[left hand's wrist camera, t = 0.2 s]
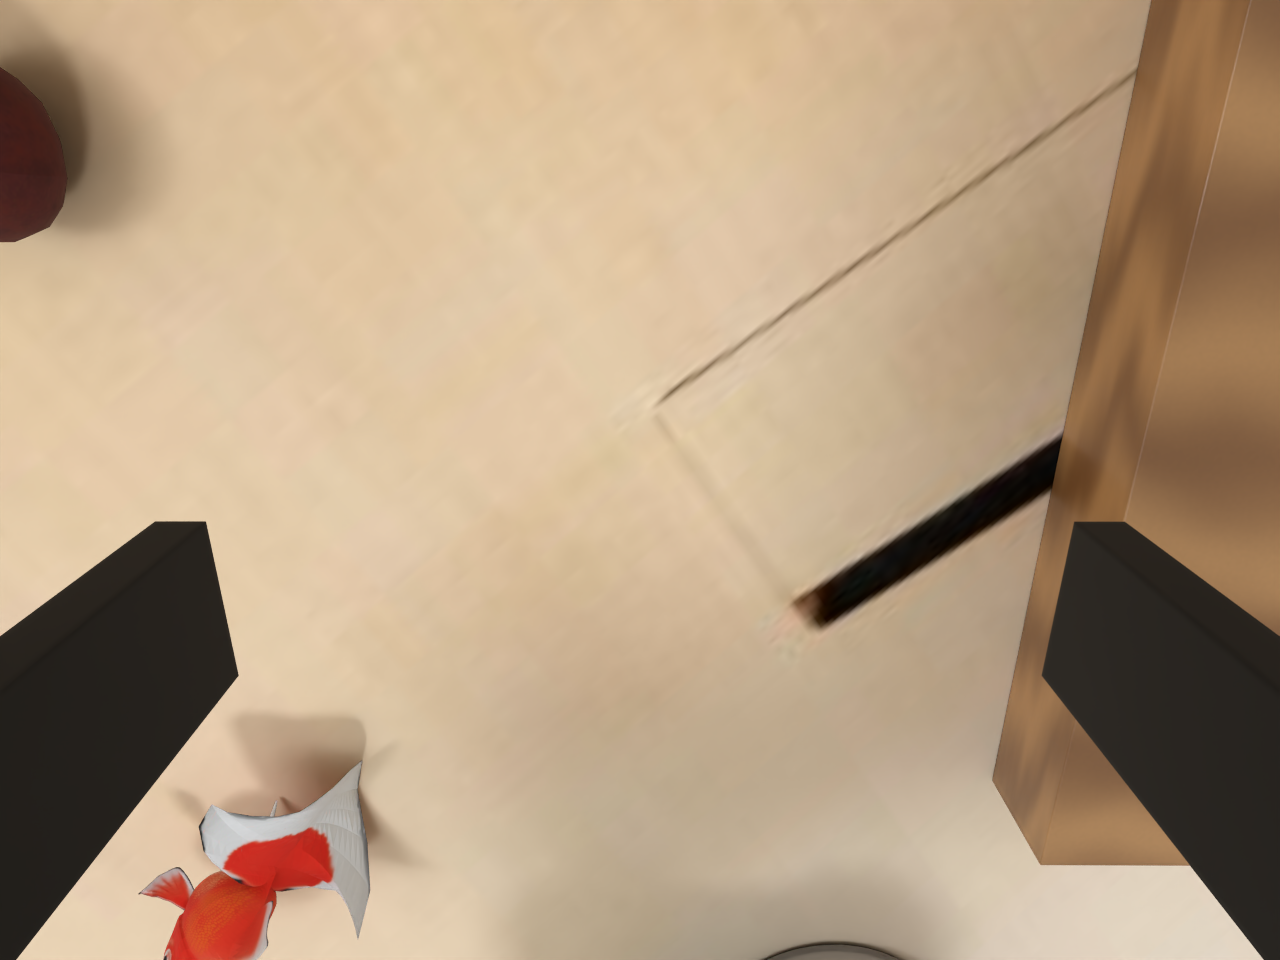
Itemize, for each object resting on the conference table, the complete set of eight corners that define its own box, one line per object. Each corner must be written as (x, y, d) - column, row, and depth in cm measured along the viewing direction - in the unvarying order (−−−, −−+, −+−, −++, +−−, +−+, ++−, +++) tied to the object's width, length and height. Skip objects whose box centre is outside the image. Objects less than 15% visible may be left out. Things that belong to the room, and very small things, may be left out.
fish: (55, 859, 44) (51, 1023, 37) (301, 672, 48) (343, 786, 40) (194, 929, 51) (215, 1080, 44) (401, 760, 55) (454, 873, 47)
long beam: (1159, 781, 49) (1231, 866, 43) (991, 780, 49) (1040, 865, 43) (1644, -843, 25) (1946, -1145, 20) (1323, -846, 25) (1529, -1149, 20)
